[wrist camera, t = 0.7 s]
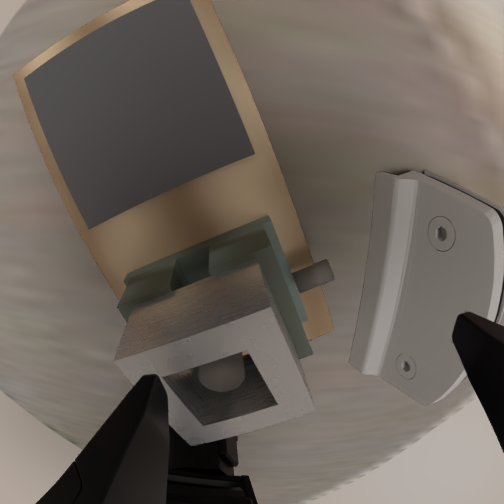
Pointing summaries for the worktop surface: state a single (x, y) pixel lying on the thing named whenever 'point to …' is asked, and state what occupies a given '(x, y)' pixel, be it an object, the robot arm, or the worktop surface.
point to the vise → (204, 219)
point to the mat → (137, 110)
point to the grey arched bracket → (426, 281)
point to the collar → (217, 355)
